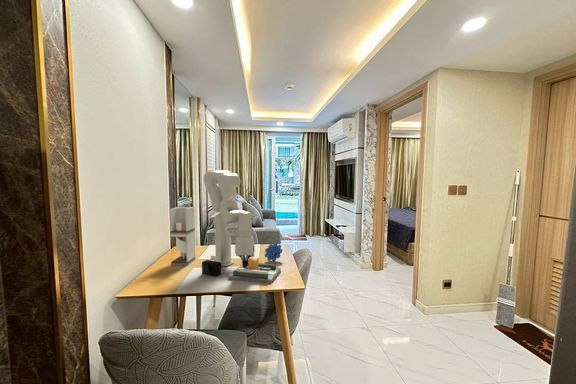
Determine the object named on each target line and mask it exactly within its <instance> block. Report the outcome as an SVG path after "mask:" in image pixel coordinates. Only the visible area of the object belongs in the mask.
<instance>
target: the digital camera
mask: <svg viewBox="0 0 576 384" xmlns="http://www.w3.org/2000/svg"><path fill="white" fill-rule="evenodd" d="M201 274H202V275H206V276H211V277H219V276H221V275H222V266H221V262H216V261H214V260H211V259H206V260H203V261H201Z"/></svg>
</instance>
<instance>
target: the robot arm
mask: <svg viewBox="0 0 576 384" xmlns="http://www.w3.org/2000/svg"><path fill="white" fill-rule="evenodd" d="M203 184H204V186H205V188H206V190H207V193H208V195H209V198H210V199H209V200H210V203H211V207H212V210H213V212H214V213H218V214H216V215H214V217H213V227H214V239H215V242H214V244H215V249H214V250H215V255H210V259H209V260H211V261H216V262H221V267H228V266H231V265H233V264H234V261H235V260H234V259H232V235H231V233H230V231H229V229H230V228H237V231H236V232H235V234H236V235H237V236H236V237H235V244H234V254H235V256H237V257H239V258H240V259H241V261H242V262H241V265H243V267H245V268H246V267H247V266H248V260H249V259H250V258H255V251H256V249H255V241H254V237H253V234H252V233H253V232H252V227H253V226H252V223H253V221H252V213H251V212H250V211H245V209H244V210H243V209H239V205H238V202H237V200H236V199H235V198H237V196H238V195H237V194H238V193H237V190H236V189H235V188H238V187H239V186H240V185H241V178H240V175H239V174H237V173H235V172H232V171H230V170H208V171H206V172H205V173H204V175H203Z"/></svg>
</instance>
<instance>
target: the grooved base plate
mask: <svg viewBox="0 0 576 384" xmlns="http://www.w3.org/2000/svg"><path fill="white" fill-rule="evenodd" d="M258 266H259V267H260V268H271V269H276V268H277V264H274V263H273V264H272V263H261V262H260V263H259V262H258ZM236 269H237V270H236ZM236 269H234V270H232V272H233V275H238V276H248V277H258V278H268V271H260V270H249V269H238V267H236Z"/></svg>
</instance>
